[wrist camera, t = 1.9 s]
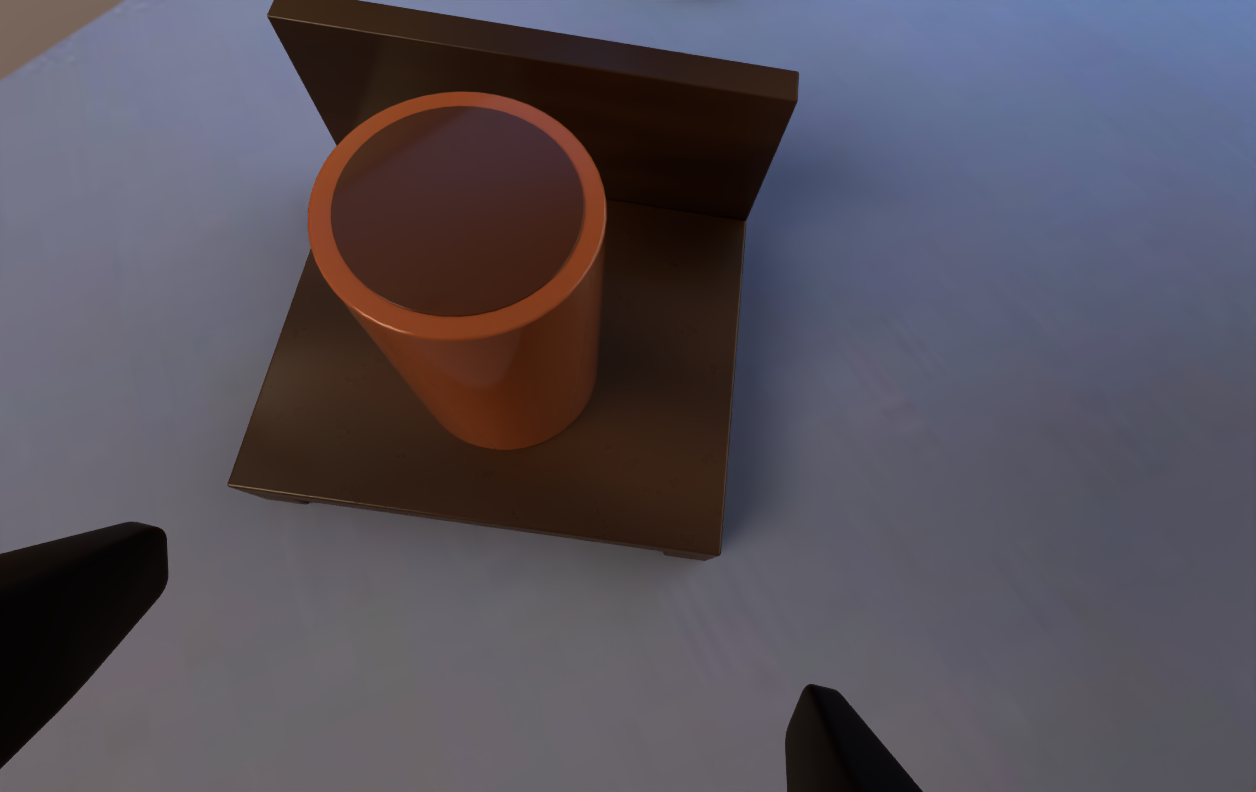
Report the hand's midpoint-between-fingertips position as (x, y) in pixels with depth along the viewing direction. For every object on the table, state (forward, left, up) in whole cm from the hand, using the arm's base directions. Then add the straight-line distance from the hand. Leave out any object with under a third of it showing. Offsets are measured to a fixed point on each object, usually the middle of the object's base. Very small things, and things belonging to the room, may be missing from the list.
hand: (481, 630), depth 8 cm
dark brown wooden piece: (+6, +8, -13) cm, 17 cm away
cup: (+5, +7, -11) cm, 14 cm away
